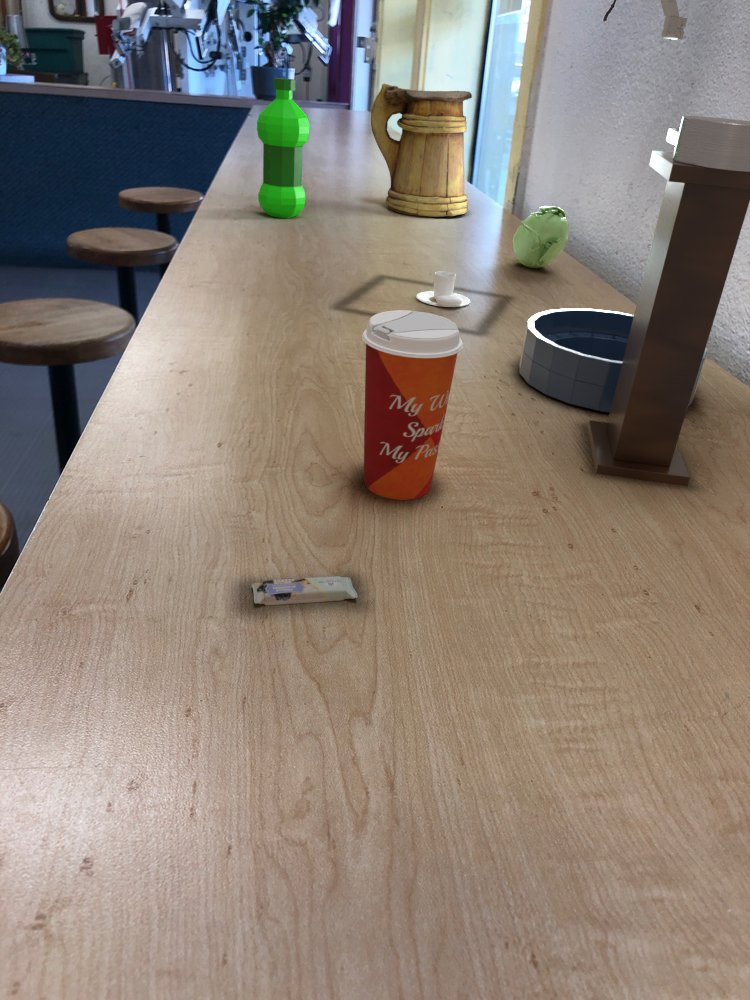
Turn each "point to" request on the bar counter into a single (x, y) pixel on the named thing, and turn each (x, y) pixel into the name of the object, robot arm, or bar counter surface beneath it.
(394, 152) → the tankard
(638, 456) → the wooden post stand
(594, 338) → the bowl
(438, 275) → the teacup and saucer
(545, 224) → the green cabbage
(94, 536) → the bar counter surface
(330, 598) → the granola bar
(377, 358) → the paper cup
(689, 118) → the grey block
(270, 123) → the plastic bottle
